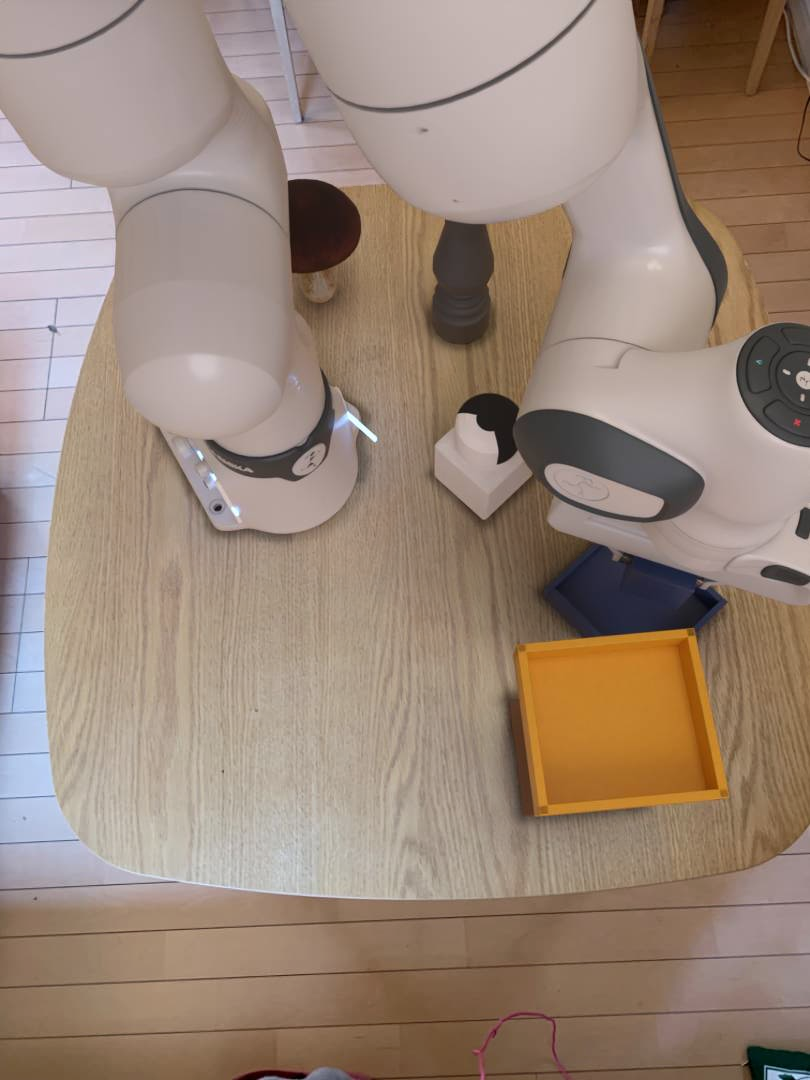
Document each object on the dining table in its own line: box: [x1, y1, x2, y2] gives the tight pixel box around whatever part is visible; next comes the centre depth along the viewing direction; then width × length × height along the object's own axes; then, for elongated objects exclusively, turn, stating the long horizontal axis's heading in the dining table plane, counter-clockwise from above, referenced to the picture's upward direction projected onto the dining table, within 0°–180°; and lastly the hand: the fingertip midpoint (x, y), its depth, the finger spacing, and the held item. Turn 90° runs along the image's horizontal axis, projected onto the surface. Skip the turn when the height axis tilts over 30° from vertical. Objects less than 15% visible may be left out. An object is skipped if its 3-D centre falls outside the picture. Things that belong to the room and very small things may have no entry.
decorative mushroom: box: [288, 178, 362, 304], centre depth 87 cm, size 11×11×15 cm
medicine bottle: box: [433, 392, 533, 521], centre depth 80 cm, size 7×7×12 cm
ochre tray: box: [508, 628, 730, 818], centre depth 66 cm, size 12×11×21 cm
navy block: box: [619, 555, 698, 609], centre depth 69 cm, size 5×5×5 cm
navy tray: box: [541, 542, 729, 638], centre depth 79 cm, size 12×11×3 cm
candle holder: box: [431, 219, 495, 345], centre depth 80 cm, size 6×6×25 cm
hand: (660, 566), depth 70 cm, fingers closed on navy block, 5 cm apart
